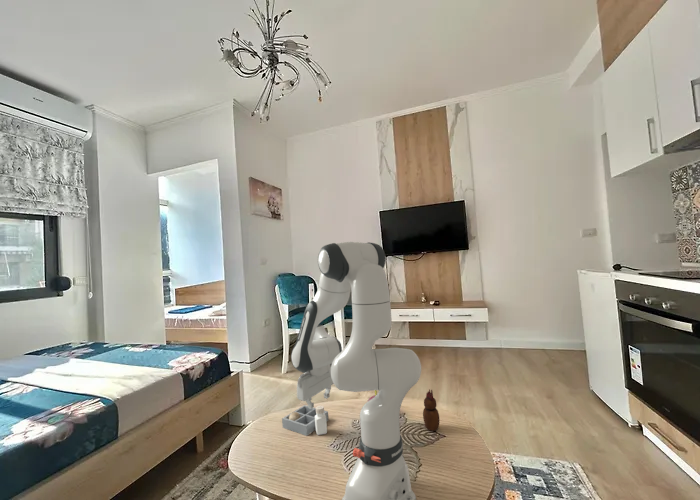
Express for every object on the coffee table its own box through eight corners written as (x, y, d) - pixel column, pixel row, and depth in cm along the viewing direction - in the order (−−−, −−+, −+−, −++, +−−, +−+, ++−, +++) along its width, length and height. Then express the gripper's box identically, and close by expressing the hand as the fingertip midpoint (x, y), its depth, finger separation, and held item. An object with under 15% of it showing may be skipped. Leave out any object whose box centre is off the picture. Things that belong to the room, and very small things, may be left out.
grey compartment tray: (306, 435, 121) (306, 426, 121) (282, 427, 129) (282, 418, 129) (328, 420, 132) (328, 411, 132) (305, 413, 139) (304, 405, 140)
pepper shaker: (317, 436, 120) (315, 410, 121) (315, 430, 124) (313, 406, 125) (327, 433, 122) (325, 408, 122) (325, 428, 125) (323, 404, 126)
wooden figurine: (442, 432, 117) (438, 391, 117) (426, 433, 117) (423, 392, 117) (437, 423, 124) (434, 384, 124) (422, 424, 124) (419, 385, 124)
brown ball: (295, 428, 126) (294, 416, 126) (286, 425, 129) (286, 413, 129) (303, 422, 130) (302, 411, 130) (295, 420, 133) (294, 408, 133)
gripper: (304, 377, 114) (306, 416, 113) (338, 359, 130) (341, 393, 130) (291, 375, 117) (294, 412, 117) (326, 357, 134) (329, 391, 134)
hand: (319, 402), depth 124 cm, fingers open, 8 cm apart
